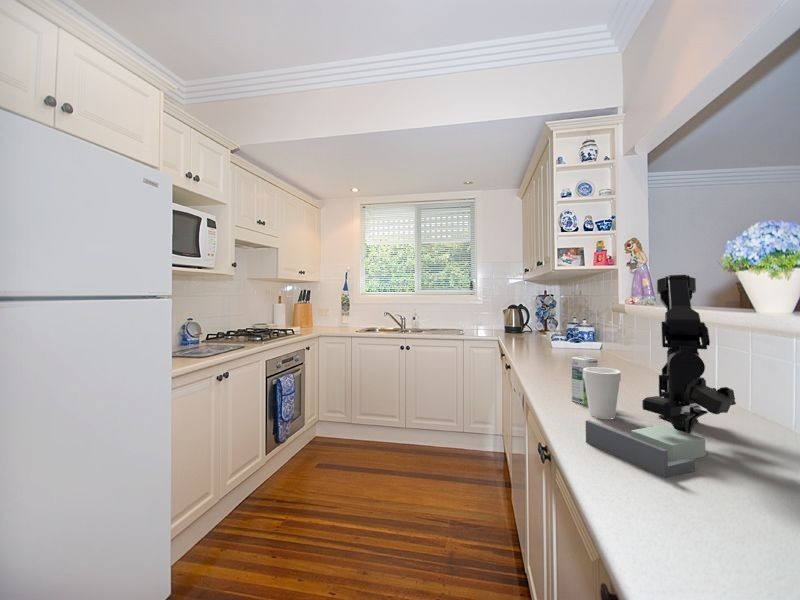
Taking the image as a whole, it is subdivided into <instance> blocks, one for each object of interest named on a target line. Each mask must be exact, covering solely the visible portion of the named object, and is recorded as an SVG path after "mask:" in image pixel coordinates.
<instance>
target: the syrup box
mask: <svg viewBox="0 0 800 600" xmlns="http://www.w3.org/2000/svg"><path fill="white" fill-rule="evenodd" d="M598 361H599V359H598V358H593V357H587V356H586V357H585V356H573V357H571V358H570V362H571V363H570V365H571V366H570V368H571V370H570V371H571V373H570V374H571V380H570V381H571V402H573V401H574V403H577V402H578V403H577V404H580V403H581V404H580V405H583V406H584V405H585V406H588V400H587V394H586V387H585V381H584V378H583V369H584V368H590V367H598V368H599V366H598Z"/></svg>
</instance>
